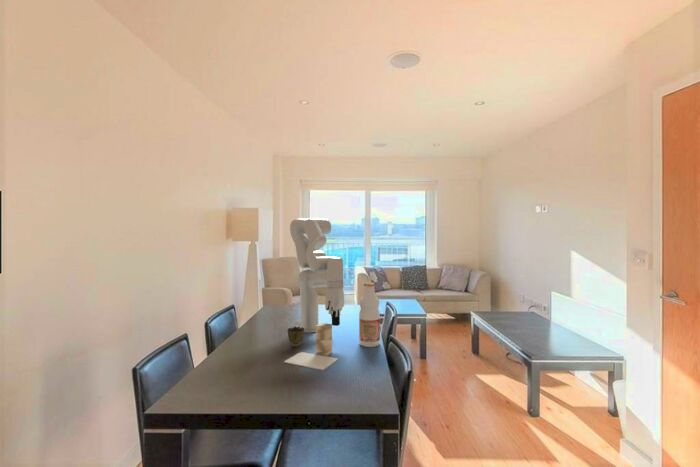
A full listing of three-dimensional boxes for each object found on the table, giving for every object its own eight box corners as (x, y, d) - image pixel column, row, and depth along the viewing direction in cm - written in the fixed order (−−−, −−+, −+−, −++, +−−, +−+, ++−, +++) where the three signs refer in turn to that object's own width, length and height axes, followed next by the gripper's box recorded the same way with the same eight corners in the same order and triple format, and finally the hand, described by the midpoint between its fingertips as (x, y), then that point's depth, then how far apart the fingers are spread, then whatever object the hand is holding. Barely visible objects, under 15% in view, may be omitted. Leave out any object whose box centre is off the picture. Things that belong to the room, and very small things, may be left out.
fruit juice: (355, 343, 158) (355, 282, 158) (371, 339, 163) (371, 281, 163) (367, 349, 150) (367, 285, 150) (384, 345, 155) (383, 283, 155)
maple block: (315, 354, 144) (315, 325, 144) (322, 350, 149) (322, 322, 149) (326, 355, 142) (326, 327, 142) (332, 352, 147) (331, 324, 147)
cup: (284, 347, 153) (284, 329, 153) (294, 342, 159) (294, 325, 159) (297, 350, 149) (297, 331, 149) (307, 345, 156) (307, 327, 156)
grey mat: (283, 362, 135) (283, 361, 135) (301, 352, 146) (301, 351, 146) (322, 370, 127) (322, 369, 127) (338, 359, 138) (338, 358, 138)
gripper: (335, 282, 163) (336, 320, 162) (319, 286, 149) (320, 328, 149) (349, 282, 159) (350, 322, 159) (334, 287, 146) (335, 330, 146)
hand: (335, 325), depth 154 cm, fingers closed
